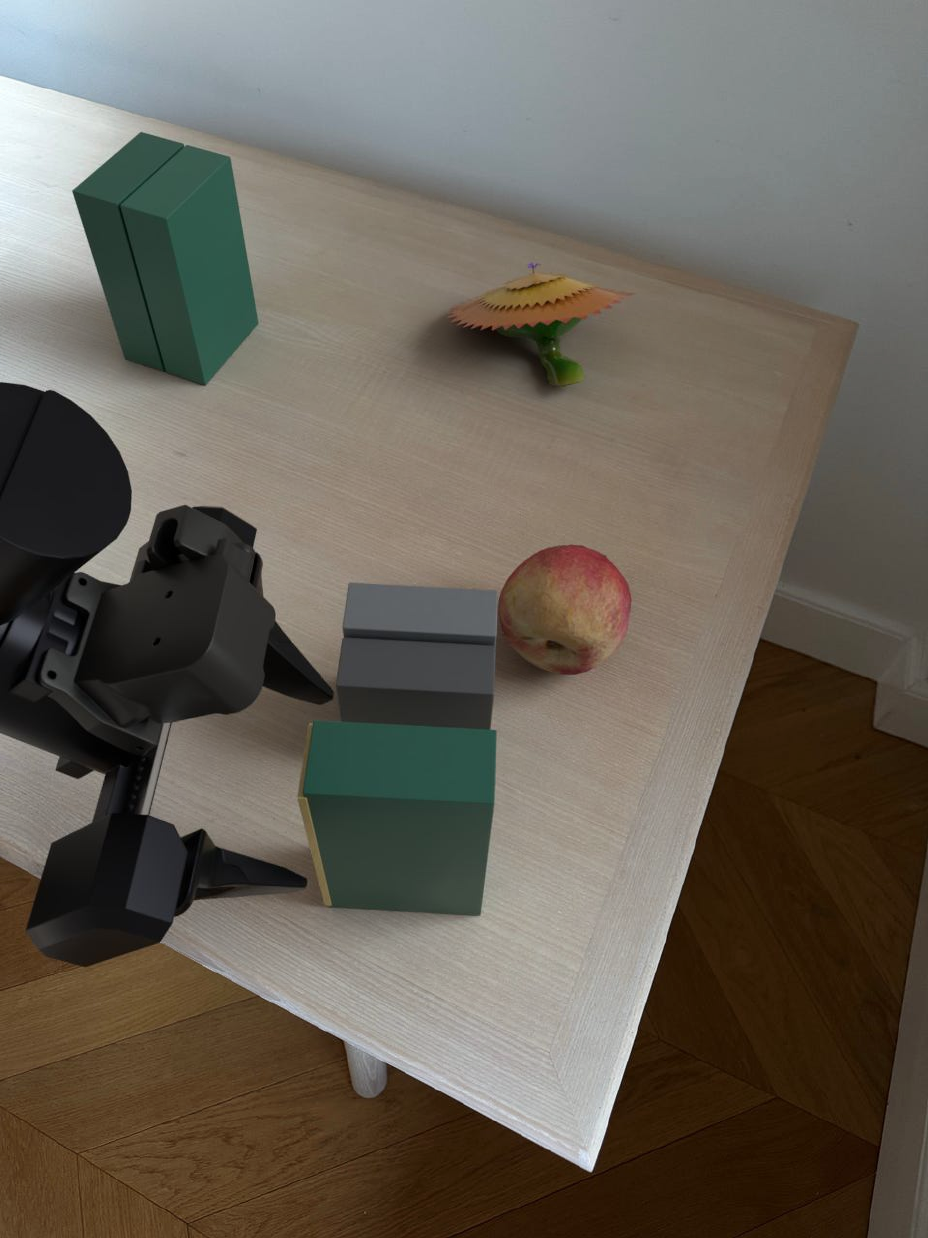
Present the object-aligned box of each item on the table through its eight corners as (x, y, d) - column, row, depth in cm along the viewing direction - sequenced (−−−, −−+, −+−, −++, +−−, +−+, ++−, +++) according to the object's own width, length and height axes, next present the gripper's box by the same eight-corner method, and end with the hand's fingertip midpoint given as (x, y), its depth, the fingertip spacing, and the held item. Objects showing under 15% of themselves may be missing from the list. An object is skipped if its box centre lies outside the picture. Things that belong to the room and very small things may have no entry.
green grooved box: (205, 385, 76) (166, 218, 64) (124, 358, 77) (71, 190, 66) (259, 323, 80) (230, 156, 69) (181, 298, 82) (140, 131, 70)
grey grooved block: (347, 767, 58) (334, 680, 50) (358, 675, 62) (348, 581, 54) (485, 774, 58) (494, 689, 50) (489, 682, 61) (498, 589, 54)
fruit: (471, 645, 63) (476, 566, 56) (552, 577, 66) (566, 495, 60) (565, 723, 60) (582, 649, 53) (645, 647, 63) (670, 569, 57)
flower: (674, 345, 80) (661, 232, 76) (597, 396, 70) (578, 271, 67) (515, 356, 88) (496, 255, 85) (427, 403, 79) (403, 292, 75)
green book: (324, 908, 53) (296, 794, 42) (333, 844, 55) (307, 718, 44) (480, 917, 53) (494, 805, 42) (482, 852, 55) (496, 728, 44)
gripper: (3, 822, 26) (427, 968, 35) (160, 349, 37) (454, 553, 46) (-152, 908, 33) (239, 1013, 42) (19, 485, 44) (301, 640, 53)
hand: (315, 787), depth 45 cm, fingers open, 9 cm apart
